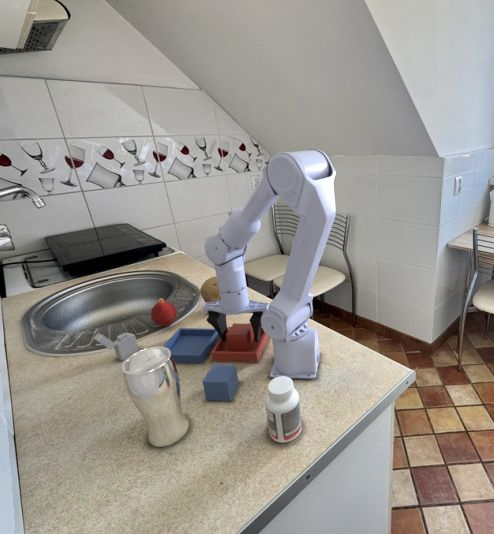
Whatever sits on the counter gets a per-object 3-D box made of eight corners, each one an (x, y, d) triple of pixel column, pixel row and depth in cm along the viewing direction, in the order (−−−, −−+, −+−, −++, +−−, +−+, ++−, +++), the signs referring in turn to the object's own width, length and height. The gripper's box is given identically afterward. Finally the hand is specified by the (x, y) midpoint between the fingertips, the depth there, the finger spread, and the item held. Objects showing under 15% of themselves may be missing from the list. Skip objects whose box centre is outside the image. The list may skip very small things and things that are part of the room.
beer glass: (143, 456, 50) (115, 381, 44) (148, 422, 56) (124, 352, 50) (191, 440, 53) (171, 367, 47) (191, 409, 58) (173, 341, 53)
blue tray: (221, 336, 79) (219, 328, 79) (202, 363, 70) (200, 355, 69) (181, 335, 80) (179, 327, 79) (157, 362, 71) (155, 354, 70)
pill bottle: (303, 416, 57) (299, 372, 53) (300, 443, 52) (295, 397, 48) (272, 417, 57) (266, 373, 53) (266, 444, 52) (259, 398, 48)
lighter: (135, 348, 76) (125, 319, 72) (139, 350, 75) (130, 320, 72) (103, 366, 70) (91, 335, 67) (108, 368, 69) (96, 338, 66)
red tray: (269, 334, 80) (268, 327, 79) (257, 362, 70) (256, 353, 69) (229, 334, 80) (228, 326, 79) (212, 360, 71) (210, 352, 70)
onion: (169, 333, 81) (161, 305, 78) (149, 331, 82) (141, 303, 79) (184, 321, 86) (177, 294, 83) (165, 319, 87) (158, 293, 84)
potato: (233, 298, 97) (228, 268, 93) (242, 311, 90) (237, 279, 86) (202, 307, 93) (195, 275, 89) (208, 321, 86) (201, 287, 82)
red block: (254, 339, 77) (252, 323, 75) (248, 351, 73) (246, 335, 71) (236, 339, 77) (233, 323, 76) (229, 351, 73) (225, 334, 71)
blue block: (239, 383, 64) (235, 365, 63) (230, 401, 60) (226, 382, 58) (216, 382, 65) (212, 364, 63) (206, 400, 60) (202, 381, 59)
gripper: (270, 279, 72) (276, 330, 78) (208, 278, 73) (218, 329, 79) (261, 293, 66) (268, 348, 71) (193, 293, 67) (205, 346, 72)
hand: (241, 339), depth 74 cm, fingers open, 7 cm apart
